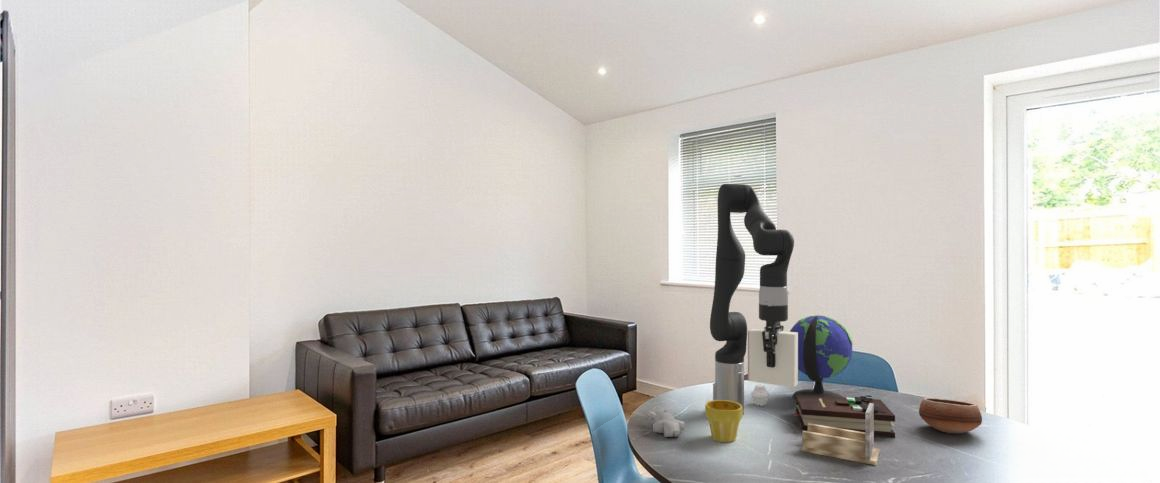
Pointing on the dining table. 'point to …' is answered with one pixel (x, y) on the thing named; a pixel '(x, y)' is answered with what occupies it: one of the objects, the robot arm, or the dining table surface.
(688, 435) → the dining table surface
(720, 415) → the plant pot
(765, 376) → the slim book
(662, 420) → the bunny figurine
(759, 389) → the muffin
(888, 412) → the decorative book
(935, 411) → the bowl
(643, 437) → the dining table surface
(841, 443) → the book rack
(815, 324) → the globe
